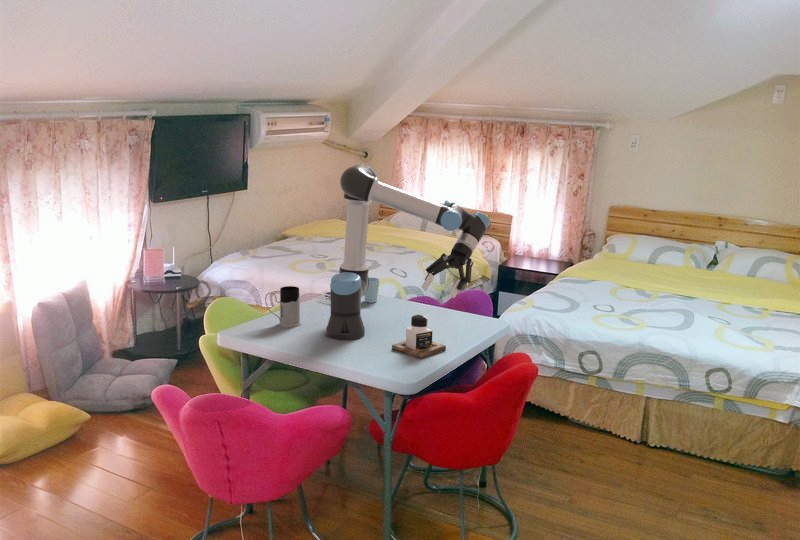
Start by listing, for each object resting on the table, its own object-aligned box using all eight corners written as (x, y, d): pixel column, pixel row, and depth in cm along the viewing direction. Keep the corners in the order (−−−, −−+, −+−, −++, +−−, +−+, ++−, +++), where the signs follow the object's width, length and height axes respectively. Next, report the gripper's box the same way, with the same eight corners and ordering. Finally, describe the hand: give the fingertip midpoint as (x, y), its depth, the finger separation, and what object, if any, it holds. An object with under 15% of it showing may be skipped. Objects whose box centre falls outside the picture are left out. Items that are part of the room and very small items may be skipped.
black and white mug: (302, 326, 282) (302, 290, 279) (267, 329, 277) (266, 292, 274) (298, 320, 290) (298, 285, 287) (263, 323, 285) (263, 287, 282)
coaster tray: (391, 349, 257) (392, 344, 257) (417, 341, 268) (417, 336, 267) (420, 359, 248) (420, 354, 248) (445, 350, 258) (445, 345, 258)
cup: (378, 303, 319) (379, 281, 316) (361, 303, 319) (362, 281, 317) (379, 299, 326) (379, 277, 324) (363, 299, 326) (363, 277, 324)
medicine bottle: (415, 351, 253) (416, 319, 251) (405, 346, 259) (406, 314, 256) (432, 348, 257) (433, 317, 254) (421, 343, 263) (422, 312, 260)
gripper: (494, 258, 262) (468, 304, 255) (443, 248, 279) (416, 291, 271) (487, 246, 257) (460, 292, 250) (435, 237, 274) (408, 280, 266)
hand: (437, 292), depth 260 cm, fingers open, 13 cm apart
